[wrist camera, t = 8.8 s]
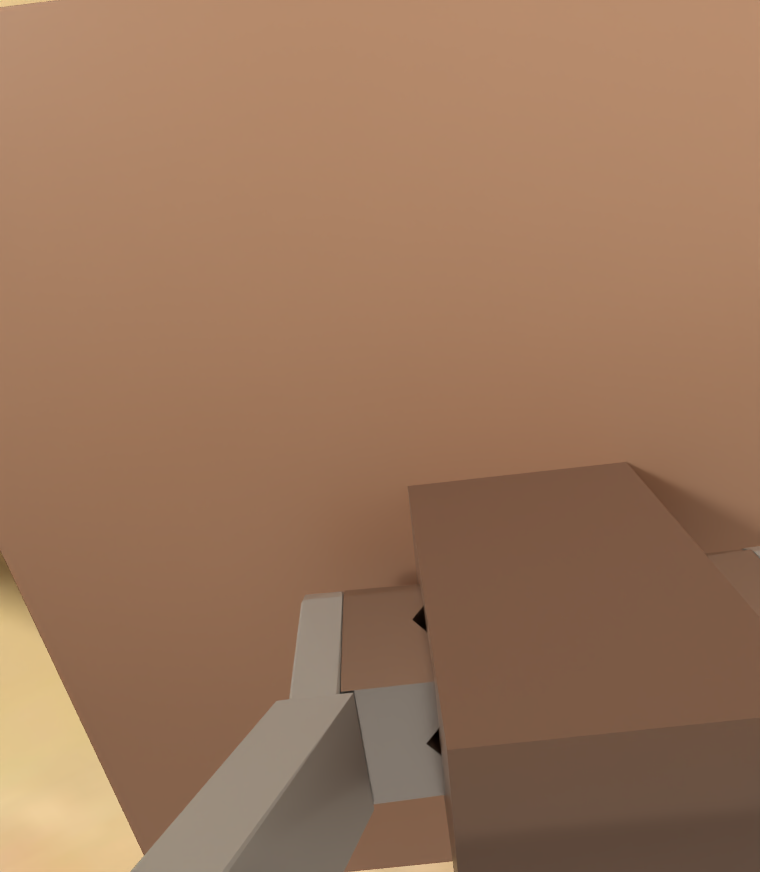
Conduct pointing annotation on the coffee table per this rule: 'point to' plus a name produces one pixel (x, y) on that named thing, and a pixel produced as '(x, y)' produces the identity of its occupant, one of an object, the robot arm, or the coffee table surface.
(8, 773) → the coffee table surface
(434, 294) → the lid
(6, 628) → the coffee table surface
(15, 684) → the coffee table surface
